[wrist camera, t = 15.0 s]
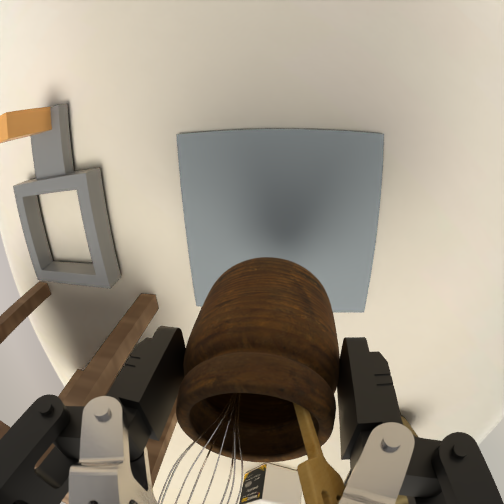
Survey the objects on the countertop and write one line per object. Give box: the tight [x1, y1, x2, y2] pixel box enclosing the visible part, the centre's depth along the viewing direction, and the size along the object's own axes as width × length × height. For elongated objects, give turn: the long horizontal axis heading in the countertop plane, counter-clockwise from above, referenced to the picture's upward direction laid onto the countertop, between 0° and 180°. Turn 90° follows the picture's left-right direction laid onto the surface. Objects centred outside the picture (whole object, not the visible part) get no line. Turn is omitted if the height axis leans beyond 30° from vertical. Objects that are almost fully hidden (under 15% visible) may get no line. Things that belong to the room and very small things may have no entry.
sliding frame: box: [0, 104, 121, 288], centre depth 20 cm, size 16×10×6 cm, turn 2°
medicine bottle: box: [239, 463, 302, 504], centre depth 34 cm, size 7×7×12 cm
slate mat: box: [177, 129, 384, 312], centre depth 22 cm, size 14×14×1 cm
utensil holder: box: [158, 257, 345, 504], centre depth 9 cm, size 6×6×12 cm
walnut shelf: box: [0, 282, 178, 504], centre depth 22 cm, size 16×16×18 cm
